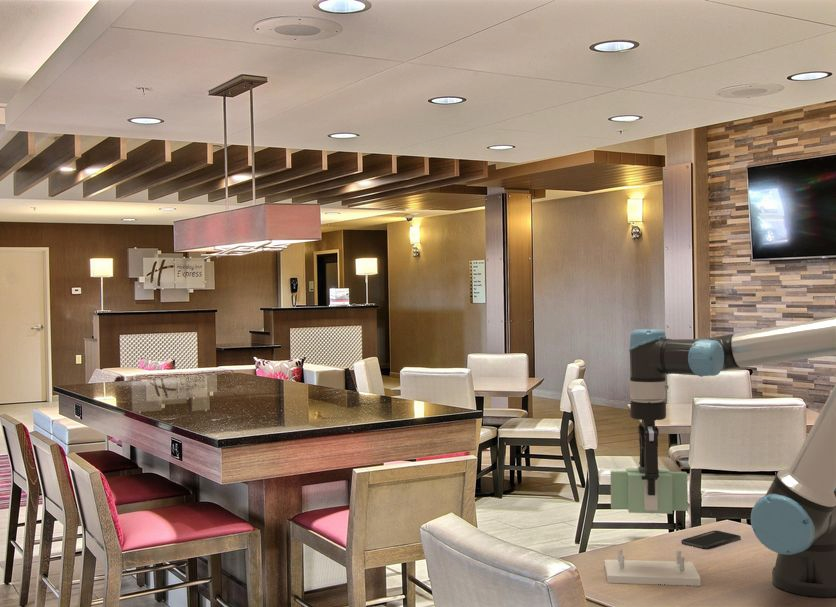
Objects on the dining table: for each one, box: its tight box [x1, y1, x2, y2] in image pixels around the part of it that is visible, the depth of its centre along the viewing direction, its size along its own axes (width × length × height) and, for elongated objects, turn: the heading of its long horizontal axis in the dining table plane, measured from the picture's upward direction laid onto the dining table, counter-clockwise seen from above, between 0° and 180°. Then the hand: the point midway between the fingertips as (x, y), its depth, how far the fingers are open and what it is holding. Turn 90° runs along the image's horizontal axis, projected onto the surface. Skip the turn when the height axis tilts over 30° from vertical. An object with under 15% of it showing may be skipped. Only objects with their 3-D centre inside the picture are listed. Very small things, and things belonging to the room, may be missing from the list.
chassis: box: [604, 548, 702, 587], centre depth 192 cm, size 19×12×5 cm, turn 81°
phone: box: [680, 530, 742, 550], centre depth 218 cm, size 8×1×15 cm
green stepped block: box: [610, 466, 689, 515], centre depth 192 cm, size 16×8×9 cm, turn 81°
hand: (648, 505), depth 192 cm, fingers closed on green stepped block, 8 cm apart
